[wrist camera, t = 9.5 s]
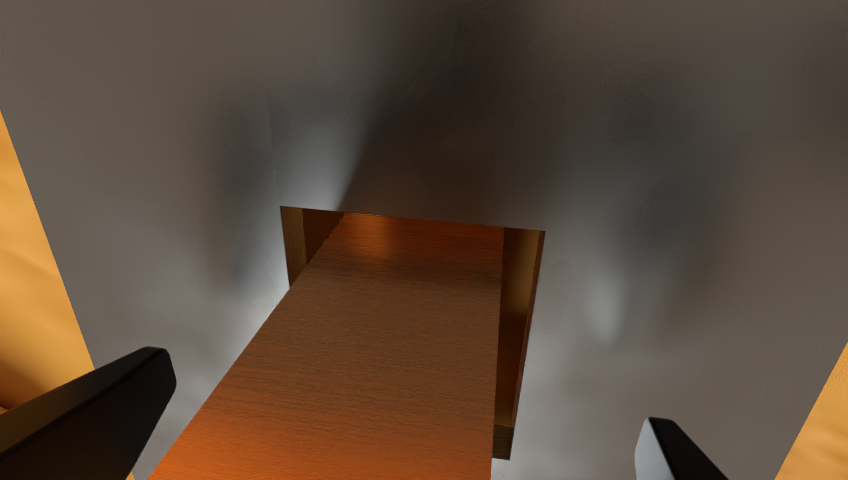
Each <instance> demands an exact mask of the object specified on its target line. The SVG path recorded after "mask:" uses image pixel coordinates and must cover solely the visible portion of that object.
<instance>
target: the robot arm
mask: <svg viewBox="0 0 848 480" xmlns="http://www.w3.org/2000/svg"><path fill="white" fill-rule="evenodd" d="M176 385H177V378H176V374H175V371H174V367H173V363H172V360H171V356H170V353H169V352H168V350H167V349H165V348H159V347H152V346H146V347H143V348H140V349H138V350H136V351H134V352H132V353H130V354H128V355H125V356H123V357H121V358H119V359H117V360H115V361H113V362H110V363H108V364H106V365H104V366H102V367H100V368H98V369H96V370H93V371H91V372H89V373H87V374H85V375H83V376H81V377H78V378H76V379H74V380H72V381H70V382H68V383H66V384H64V385H61V386H59V387H57V388H55V389H53V390H51V391H49V392H46V393H44V394H42V395H40V396H38V397H36V398H34V399H32V400H29V401H27V402H25V403H23V404H21V405H19V406H17V407H14V408H12V409H10V410H8V411H6V412H4V413H2V414H0V480H126V478H127V477H128V475H129V474H130V472H131V471H132V469H133V467H134V466H135V464H136V463H137V461H138V459H139V457H140V456H141V454H142V452H143V450H144V448H145V447H146V445H147V443H148V441H149V439H150V437H151V435H152V433H153V432H154V430H155V428H156V426H157V424H158V422H159V420H160V419H161V417H162V415H163V413H164V411H165V409H166V407H167V405H168V404H169V402H170V400H171V398H172V396H173V394H174V392H175V389H176ZM635 468H636V476H637V480H729V479H728V478H727V477H726V476H725V475H724V474H723V473H722V472H721V470H720V469H719V468H718V467H717V466H716V465H715V464H714V463H713V462H712V461H711V460H710V459H709V458H708V457H707V456H706V454H705V453H704V452H703V451H702V450H701V449H700V448H699V447H698V446H697V445H696V444H695V443H694V442H693V441H692V439H691V438H690V437H689V436H688V435H687V434H686V433H685V432H684V431H683V430H682V429H681V428H680V427H679V426H678V424H677V423H675V422H674V421H673V420H671V419H665V418H658V417H648V418H646V420H645V421H644V424H643V427H642V430H641V433H640V437H639V440H638V443H637V446H636V449H635Z"/></svg>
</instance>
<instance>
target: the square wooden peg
mask: <svg viewBox="0 0 848 480" xmlns="http://www.w3.org/2000/svg"><path fill="white" fill-rule="evenodd" d="M503 238H504V227H498V226H487V225H478V224H467V223H457V222H446V221H436V220H425V219H415V218H404V217H393V216H374V215H362V214H351V213H345V215H344V216H343V217H342V219H341V220H340V221H339V223H338V224H337V225H336V227H335V228H334V230H333V231H332V232H331V234H330V235H329V236H328V238H327V239H326V240H325V242H324V243H323V244H322V246H321V247H320V248H319V250H318V251H317V252H316V254H315V255H314V256H313V258H312V259H311V260H310V262H309V263H308V264H307V266H306V267H305V268H304V270H303V271H302V272H301V274H300V275H299V276H298V278H297V279H296V280H295V282H294V283H293V284H292V286H291V287H290V288H289V290H288V291H287V292H286V294H285V295H284V296H283V298H282V299H281V301H280V302H279V303H278V305H277V306H276V307H275V309H274V310H273V311H272V313H271V314H270V315H269V317H268V318H267V319H266V321H265V322H264V323H263V325H262V326H261V327H260V329H259V330H258V331H257V333H256V334H255V335H254V337H253V338H252V339H251V341H250V342H249V343H248V345H247V346H246V347H245V349H244V350H243V351H242V353H241V354H240V355H239V357H238V358H237V359H236V361H235V362H234V363H233V365H232V366H231V367H230V369H229V370H228V372H227V373H226V374H225V376H224V377H223V378H222V380H221V381H220V382H219V384H218V385H217V386H216V388H215V389H214V390H213V392H212V393H211V394H210V396H209V397H208V398H207V400H206V401H205V402H204V404H203V405H202V406H201V408H200V409H199V410H198V412H197V413H196V414H195V416H194V417H193V418H192V420H191V421H190V422H189V424H188V425H187V426H186V428H185V429H184V430H183V432H182V433H181V434H180V436H179V437H178V438H177V440H176V441H175V443H174V444H173V445H172V447H171V448H170V449H169V451H168V452H167V453H166V455H165V456H164V457H163V459H162V460H161V461H160V463H159V464H158V465H157V467H156V468H155V469H154V471H153V472H152V473H151V475H150V476H149V477H148V479H147V480H491V467H492V448H493V429H494V410H495V391H496V372H497V353H498V334H499V314H500V295H501V276H502V257H503Z"/></svg>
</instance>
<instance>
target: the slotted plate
mask: <svg viewBox="0 0 848 480" xmlns="http://www.w3.org/2000/svg"><path fill="white" fill-rule="evenodd" d="M0 110H1V113H2V116H3V118H4V121H5V124H6V127H7V129H8V132H9V135H10V138H11V140H12V143H13V146H14V149H15V151H16V154H17V157H18V160H19V162H20V165H21V168H22V171H23V173H24V176H25V179H26V182H27V184H28V187H29V190H30V193H31V195H32V198H33V201H34V204H35V206H36V209H37V212H38V214H39V217H40V220H41V223H42V225H43V228H44V231H45V234H46V236H47V239H48V242H49V245H50V247H51V250H52V253H53V256H54V258H55V261H56V264H57V267H58V269H59V272H60V275H61V278H62V280H63V283H64V286H65V289H66V291H67V294H68V297H69V300H70V302H71V305H72V308H73V311H74V313H75V316H76V319H77V322H78V324H79V327H80V330H81V333H82V335H83V338H84V341H85V343H86V346H87V349H88V352H89V354H90V357H91V360H92V363H93V365H94V368H95V370H96V369H98V368H100V367H102V366H104V365H106V364H108V363H110V362H113V361H115V360H117V359H119V358H121V357H123V356H125V355H128V354H130V353H132V352H134V351H136V350H138V349H140V348H143V347H146V346H152V347H159V348H165V349H167V350H168V352H169V353H170V356H171V360H172V363H173V367H174V371H175V374H176V378H177V385H176V389H175V392H174V394H173V396H172V398H171V400H170V402H169V404H168V405H167V407H166V409H165V411H164V413H163V415H162V417H161V419H160V420H159V422H158V424H157V426H156V428H155V430H154V432H153V433H152V435H151V437H150V439H149V441H148V443H147V445H146V447H145V448H144V450H143V452H142V454H141V456H140V457H139V459H138V461H137V463H136V464H135V466H134V467H133V469H132V473H133V475H134V478H135V480H147V479H148V477H149V476H150V475H151V473H152V472H153V471H154V469H155V468H156V467H157V465H158V464H159V463H160V461H161V460H162V459H163V457H164V456H165V455H166V453H167V452H168V451H169V449H170V448H171V447H172V445H173V444H174V443H175V441H176V440H177V438H178V437H179V436H180V434H181V433H182V432H183V430H184V429H185V428H186V426H187V425H188V424H189V422H190V421H191V420H192V418H193V417H194V416H195V414H196V413H197V412H198V410H199V409H200V408H201V406H202V405H203V404H204V402H205V401H206V400H207V398H208V397H209V396H210V394H211V393H212V392H213V390H214V389H215V388H216V386H217V385H218V384H219V382H220V381H221V380H222V378H223V377H224V376H225V374H226V373H227V372H228V370H229V369H230V367H231V366H232V365H233V363H234V362H235V361H236V359H237V358H238V357H239V355H240V354H241V353H242V351H243V350H244V349H245V347H246V346H247V345H248V343H249V342H250V341H251V339H252V338H253V337H254V335H255V334H256V333H257V331H258V330H259V329H260V327H261V326H262V325H263V323H264V322H265V321H266V319H267V318H268V317H269V315H270V314H271V313H272V311H273V310H274V309H275V307H276V306H277V305H278V303H279V302H280V301H281V299H282V298H283V296H284V295H285V294H286V292H287V291H288V290H289V288H290V287H291V286H292V284H293V283H294V282H295V280H296V279H297V278H298V276H299V275H300V274H301V272H302V271H303V270H304V268H305V267H306V266H307V260H306V249H305V239H304V228H303V217H302V208H309V209H320V210H330V211H341V212H351V213H362V214H372V215H383V216H393V217H404V218H415V219H425V220H436V221H446V222H457V223H467V224H478V225H488V226H499V227H509V228H520V229H530V230H540V233H539V240H538V246H537V253H536V260H535V266H534V273H533V280H532V286H531V293H530V299H529V306H528V313H527V319H526V326H525V333H524V339H523V346H522V352H521V359H520V366H519V372H518V379H517V386H516V392H515V399H514V405H513V412H512V419H511V425H510V427H505V426H499V425H494V429H493V448H492V467H491V480H637V476H636V468H635V449H636V446H637V443H638V440H639V437H640V433H641V430H642V427H643V424H644V421H645V420H646V418H648V417H658V418H665V419H671V420H673V421H674V422H675V423H677V424H678V426H679V427H680V428H681V429H682V430H683V431H684V432H685V433H686V434H687V435H688V436H689V437H690V438H691V439H692V441H693V442H694V443H695V444H696V445H697V446H698V447H699V448H700V449H701V450H702V451H703V452H704V453H705V454H706V456H707V457H708V458H709V459H710V460H711V461H712V462H713V463H714V464H715V465H716V466H717V467H718V468H719V469H720V470H721V472H722V473H723V474H724V475H725V476H726V477H727V478H728V479H729V480H774V479H775V477H776V475H777V473H778V471H779V470H780V468H781V466H782V464H783V462H784V460H785V458H786V456H787V455H788V453H789V451H790V449H791V447H792V445H793V443H794V441H795V440H796V438H797V436H798V434H799V432H800V430H801V428H802V426H803V425H804V423H805V421H806V419H807V417H808V415H809V413H810V411H811V409H812V408H813V406H814V404H815V402H816V400H817V398H818V396H819V394H820V393H821V391H822V389H823V387H824V385H825V383H826V381H827V379H828V378H829V376H830V374H831V372H832V370H833V368H834V366H835V364H836V363H837V361H838V359H839V357H840V355H841V353H842V351H843V349H844V347H845V346H846V344H847V342H848V0H0Z"/></svg>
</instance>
